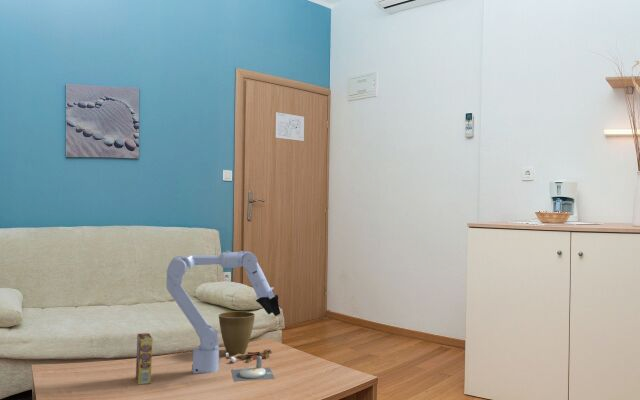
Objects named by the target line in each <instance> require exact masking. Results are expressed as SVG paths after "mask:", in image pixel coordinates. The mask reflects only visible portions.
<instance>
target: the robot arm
mask: <svg viewBox="0 0 640 400" xmlns="http://www.w3.org/2000/svg"><path fill="white" fill-rule="evenodd" d="M201 265H202V266H205V265H206V266H207V265H220V267H221V268H222V269H223V268H224V269H225V268H226V269H230V268H231V269H232V268H233V269H234V268H235V269H236V268H241V267H243V268H244V270H245V272H246V276H247V278H248V280H249V282H250V285H251V286H252V289H253V290H254V292H255V295H256V298H257V299H256V300H255V302H257V303H258V304H259V305H260V306H261V307H262V308H263V309H264V310H265V312H266V313H267V314H268V315H270V314H273V316H274V317H277V316H279V315H281V310H280V305H279V295H278V294H274V292H273V290H274V289H275V287H274V286H272V287H271V286H270V284H269V282H268V279H267V278H266V276H265V274H264V271H263V270H262V268H261V266H260V264H259V262H258V257H257V256H256V255H255V254H254V253H253V252H250V251H247V250H246V251H245V250H240V251H231V250H225V251H223V252H222V253H220V254H219V255H208V254H207V255H206V254H204V255H203V254H189V255H182V256H175V257H173V258H172V259H171V260H170V262H169V264H168V267H167V269H166V289H167V291H168V293H169V294H170V296H171V297H172V298H173V300H174V301H175V302H176V304H177V305H178V307H179V308H180V310H181V311H182V313H183V314H184V316H185V317H186V318H187V320H188V322H189V323H190V324H191V326H192V328H193V329H194V330H195V333H196V335H197V336H198V338H199V343H200V344H199V346H198V348H193V351H192V365H191V370H192V374H211V373H216V372H218V371H219V365H220V363H219V362H220V345H219V336H218V331H217V329H216V328H215V327H214V326H211V325H210V324H209V322H208V321H207V320H206V319H205V318H204V317H203V315H202V314H201V311H200V310H199V309H198V308H197V306H196V305H195V303H194V302H193V300H192V299H191V297H190V296H189V294H188V293H187V292H186V290H185V289H184V287H183V286H182V280H183V277H184V276H185V274H186V272H187V270H188V269H189V270H191V269H193V268H195V267H196V266H201Z"/></svg>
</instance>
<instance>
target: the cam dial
mask: <svg viewBox="0 0 640 400" xmlns="http://www.w3.org/2000/svg"><path fill="white" fill-rule="evenodd" d="M262 360H263V359H262V356H257V359H256V366H249V367H244V368H240V369H241V370H240V376H241V377H244V378H260V377H263V376H265V374H266V370H265V369H264V368H265V367H262V363H263V361H262Z"/></svg>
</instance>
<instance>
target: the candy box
mask: <svg viewBox="0 0 640 400" xmlns="http://www.w3.org/2000/svg"><path fill="white" fill-rule="evenodd" d="M136 339H137V340H136V359H135V360H136V363H135V367H136V368H135V379H136V381H137V383H138V385H147V384H148V385H149V384H151V380H152V362H153V361H152V360H153V359H152V357H153V341H154V339H153V337H152V336H151V334H150V333H149V332H143V333H137V337H136Z"/></svg>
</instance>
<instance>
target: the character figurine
mask: <svg viewBox="0 0 640 400" xmlns="http://www.w3.org/2000/svg"><path fill="white" fill-rule="evenodd" d="M270 354H273V353H272V350H271V349H269V348H268V349H263V351H256V352H255V351H253V352H252V351H250V352H249V351H248V352H247V354H239V355H237V356H236V355H235V356H230V355H229V354H228V353H227V352H226V353H225V359H226V360H229V363H231V364H235V363H237V362H240V361H245V362H246V363H251V362H253V361H257V356H262V360H267V359H269V358H270Z"/></svg>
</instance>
